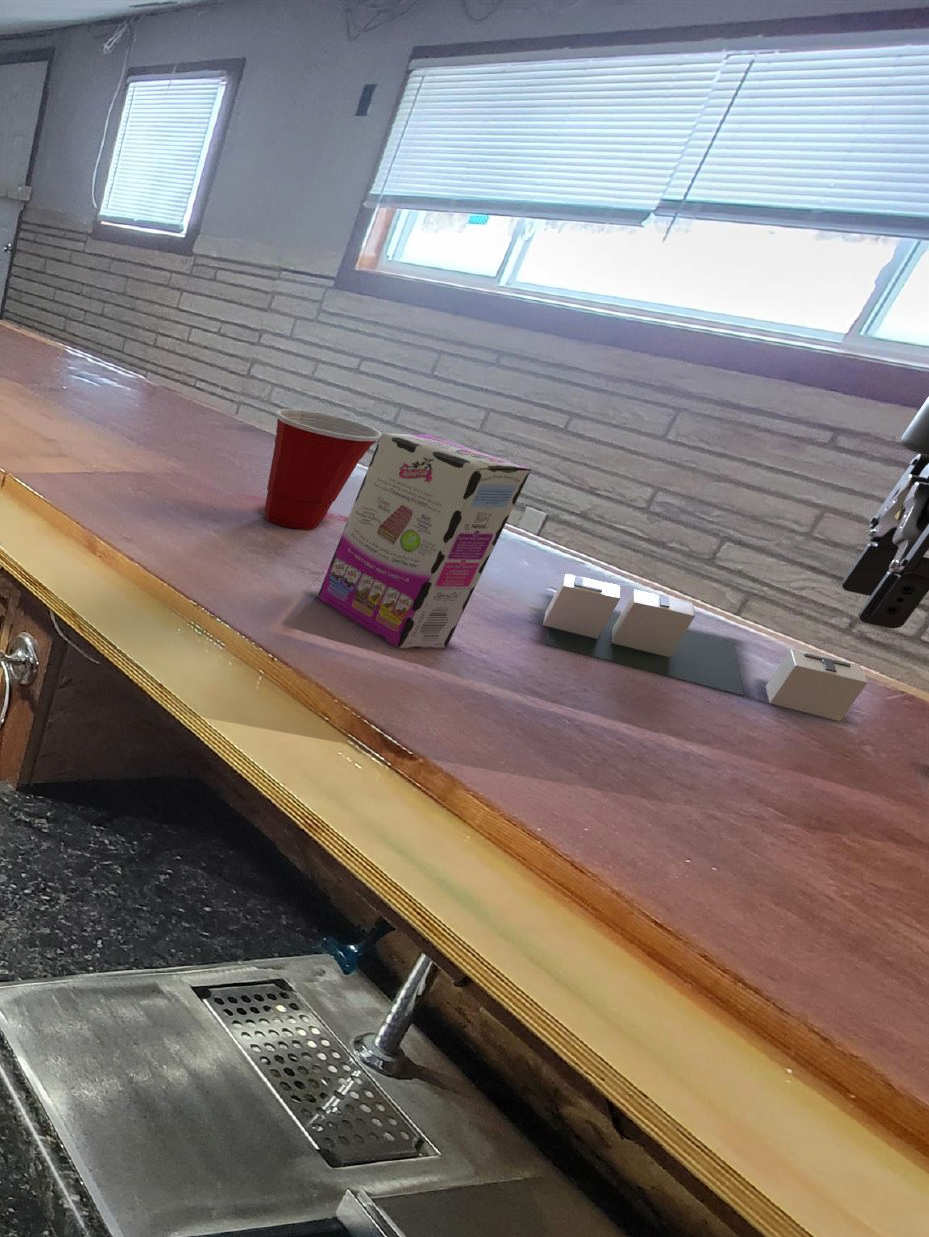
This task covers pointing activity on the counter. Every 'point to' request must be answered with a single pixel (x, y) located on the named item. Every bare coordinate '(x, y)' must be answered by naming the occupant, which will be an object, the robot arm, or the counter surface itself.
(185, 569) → the counter surface
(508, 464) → the candy bar box
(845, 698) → the tile
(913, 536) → the robot arm
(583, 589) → the tile
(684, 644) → the word mat
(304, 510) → the plastic cup
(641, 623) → the tile
